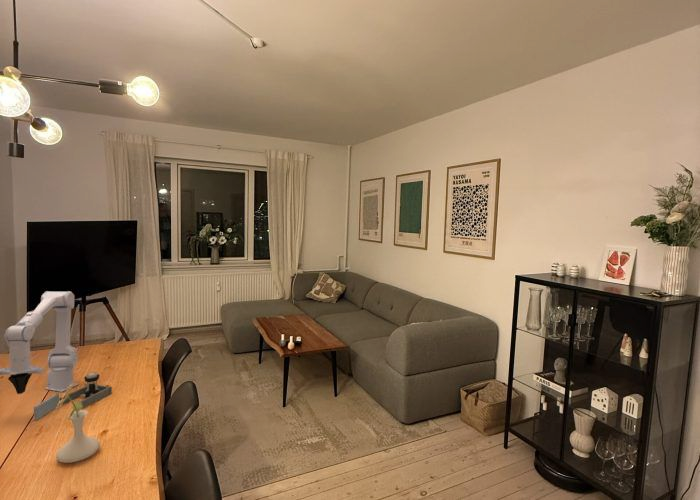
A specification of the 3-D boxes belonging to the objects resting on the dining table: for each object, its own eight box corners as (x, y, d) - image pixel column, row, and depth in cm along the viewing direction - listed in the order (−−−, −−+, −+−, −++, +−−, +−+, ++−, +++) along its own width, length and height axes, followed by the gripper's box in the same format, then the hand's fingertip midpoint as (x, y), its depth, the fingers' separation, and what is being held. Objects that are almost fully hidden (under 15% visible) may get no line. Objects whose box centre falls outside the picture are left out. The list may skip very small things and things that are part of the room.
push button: (79, 401, 152) (79, 378, 151) (81, 395, 156) (81, 373, 156) (99, 398, 155) (98, 375, 154) (100, 393, 159) (100, 370, 159)
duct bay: (59, 405, 148) (59, 397, 148) (91, 390, 162) (91, 383, 162) (81, 409, 146) (81, 401, 145) (111, 393, 159) (111, 386, 159)
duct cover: (57, 404, 148) (56, 392, 148) (60, 404, 148) (59, 392, 148) (33, 420, 136) (33, 407, 136) (36, 420, 136) (36, 407, 136)
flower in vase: (71, 444, 123) (70, 372, 121) (107, 444, 124) (106, 373, 122) (42, 470, 110) (40, 391, 108) (82, 470, 111) (81, 390, 109)
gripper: (-12, 361, 130) (-10, 398, 131) (35, 360, 133) (35, 396, 134) (3, 354, 137) (5, 389, 138) (47, 353, 140) (48, 388, 141)
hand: (21, 392), depth 137 cm, fingers closed
